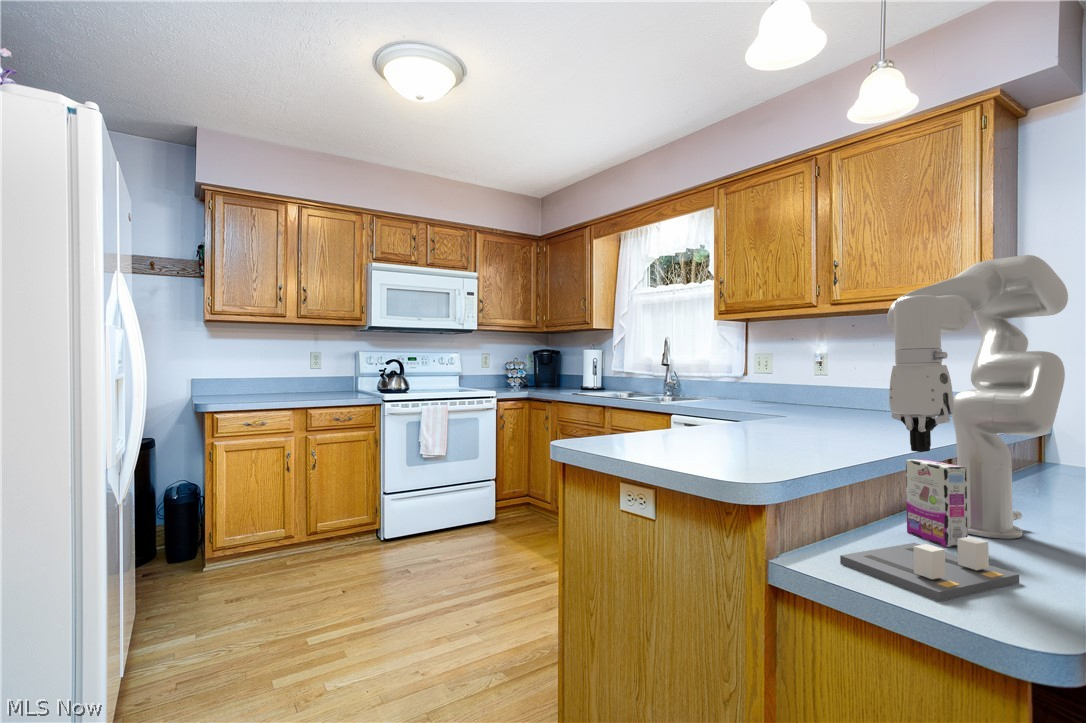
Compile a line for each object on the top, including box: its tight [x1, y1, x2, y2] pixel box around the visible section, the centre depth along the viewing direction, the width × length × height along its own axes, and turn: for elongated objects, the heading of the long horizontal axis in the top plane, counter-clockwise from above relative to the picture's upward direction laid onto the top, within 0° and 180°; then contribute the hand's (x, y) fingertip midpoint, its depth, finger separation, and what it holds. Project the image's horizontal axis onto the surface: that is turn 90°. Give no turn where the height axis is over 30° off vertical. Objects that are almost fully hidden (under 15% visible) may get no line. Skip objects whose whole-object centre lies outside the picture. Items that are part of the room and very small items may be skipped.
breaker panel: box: [839, 542, 1020, 602], centre depth 97 cm, size 20×18×2 cm
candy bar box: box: [905, 458, 969, 548], centre depth 115 cm, size 11×5×16 cm, turn 5°
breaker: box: [914, 543, 946, 579], centre depth 91 cm, size 3×3×4 cm
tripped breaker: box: [957, 536, 990, 570], centre depth 94 cm, size 3×3×4 cm
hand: (920, 450), depth 107 cm, fingers closed
